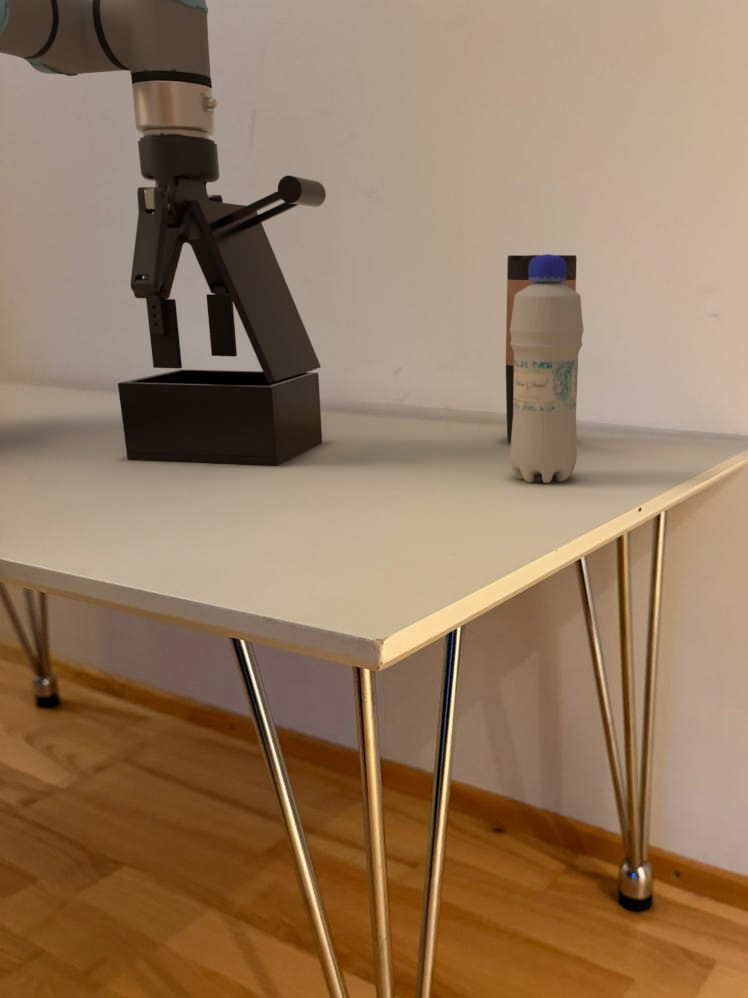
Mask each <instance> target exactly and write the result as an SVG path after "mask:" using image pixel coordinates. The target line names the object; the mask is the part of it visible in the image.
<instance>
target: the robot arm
mask: <svg viewBox="0 0 748 998" xmlns="http://www.w3.org/2000/svg"><path fill="white" fill-rule="evenodd" d="M208 13H209V9H208V6H207V2H206V0H0V53H1V54H5V55H9V56H14V57H17V58H21V59H23V60H25V61H26V62H27V63H29V64H30V65H31V67H32V68H33V69H34V70H36V72H37V71H38V72H40V73H43V74H46V75H65V76H67V77H75V76H78V75H82V74H93V73H108V72H121V71H126V72H127V71H128V72H129V73H130V77H131V85H132V87H131V88H132V99H133V109H134V122H135V129H136V130H137V131H138V132H140V133H142V137H140V138H139V140H138V141H137V148H138V156H139V157H138V159H139V168H140V174H141V176H142V178H143V179H145V180H147V181H151V182H155V186H144V187H143V186H139V187H138V188H137V190H136V191H137V193H136V194H137V208H138V209H137V210H138V214H137V221H136V222H137V223H136V231H135V232H136V233H135V240H134V248H133V257H132V265H131V266H132V267H131V275H130V289H131V291H132V292H133V296H134V297H135V298H136V299H145V303H146V309H147V320H148V330H149V338H150V349H151V358H152V367H153V369H175V370H180V369H182V368H183V365H182V353H181V344H180V333H179V323H178V314H177V313H178V312H177V301H176V299H175V298H170V297H171V293H172V289H173V285H174V281H175V277H176V273H177V269H178V265H179V261H180V259H181V254H182V250H183V246H184V245H185V243H186V244H189V246H190V247H191V249H192V251H193V254H194V256H195V259H196V261H197V263H198V266H199V268H200V270H201V272H202V275H203V277H204V279H205V282H206V283H207V287H208V289H209V291H210V294H209V293H208V294H205V295H206V306H207V317H208V328H209V329H208V330H209V342H210V352H211V356H212V357H237V356H238V352H237V351H238V350H237V337H236V325H235V311H234V303H233V301H232V298H231V296H230V294H229V291H228V289H227V287H226V284H225V282H224V280H223V277H222V275H221V273H220V270H219V268H218V266H217V263H216V261H215V259H214V256H213V254H212V252H211V249H210V247H209V245H208V242H207V240H206V238H205V235H204V233H203V231H202V228H201V226H200V224H199V222H198V219H197V217H196V215H195V212H194V210H193V208H192V205H191V202H193V201H195V200H205V201H213V202H221V203H224V200H223V196H222V195H221V194H209V193H208V190H207V184H208V183H214V182H217V181H218V180H219V179H220V166H219V165H220V164H219V152H218V144H216V143H215V142H216V141H215V140H214V139H211V136H213V135H214V134H215V133H216V123H215V121H216V120H215V109H216V108H217V106H218V102H217V100H216V99H215V98H214V97H213V95H214V94H213V85H212V84H213V83H212V78H211V77H212V76H211V63H210V45H209V26H208Z"/></svg>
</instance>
